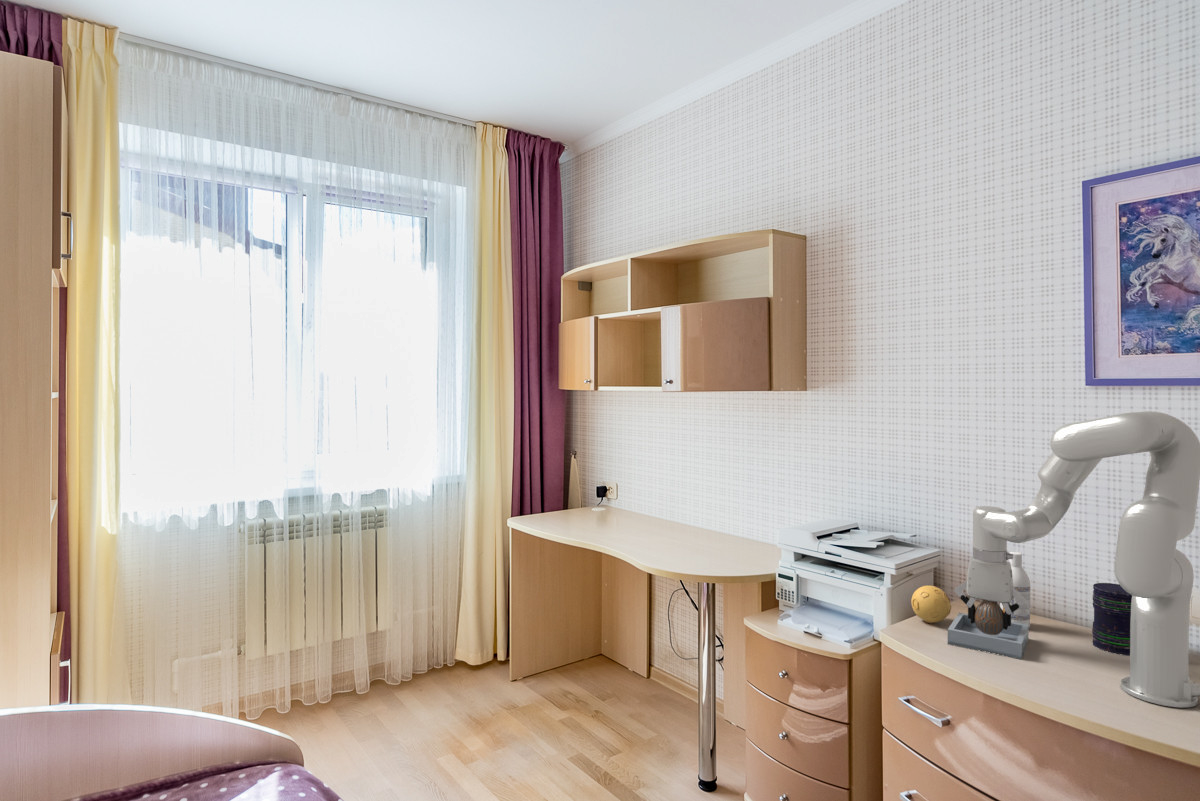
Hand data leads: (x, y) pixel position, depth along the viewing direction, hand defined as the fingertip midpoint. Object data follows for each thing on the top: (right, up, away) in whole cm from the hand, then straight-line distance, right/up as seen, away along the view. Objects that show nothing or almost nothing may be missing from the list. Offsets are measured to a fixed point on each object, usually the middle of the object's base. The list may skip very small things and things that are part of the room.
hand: (989, 624), depth 172 cm
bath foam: (+14, -5, +12) cm, 19 cm away
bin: (0, -5, 0) cm, 5 cm away
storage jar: (+30, -5, -4) cm, 30 cm away
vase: (0, -2, 0) cm, 2 cm away
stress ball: (-8, -5, +15) cm, 17 cm away
